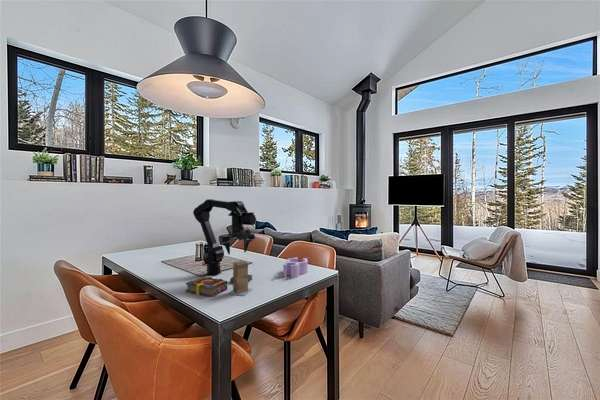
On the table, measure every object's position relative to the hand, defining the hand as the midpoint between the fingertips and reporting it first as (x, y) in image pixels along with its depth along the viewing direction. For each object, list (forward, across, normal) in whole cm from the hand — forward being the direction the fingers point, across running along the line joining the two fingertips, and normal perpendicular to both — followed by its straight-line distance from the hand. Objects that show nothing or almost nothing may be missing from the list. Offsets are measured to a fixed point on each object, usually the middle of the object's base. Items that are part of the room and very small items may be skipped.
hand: (237, 253), depth 146 cm
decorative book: (+14, -20, -11) cm, 26 cm away
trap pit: (+13, -1, -8) cm, 15 cm away
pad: (+13, -8, -22) cm, 27 cm away
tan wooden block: (+12, -8, -22) cm, 26 cm away
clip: (+14, +30, -12) cm, 35 cm away
